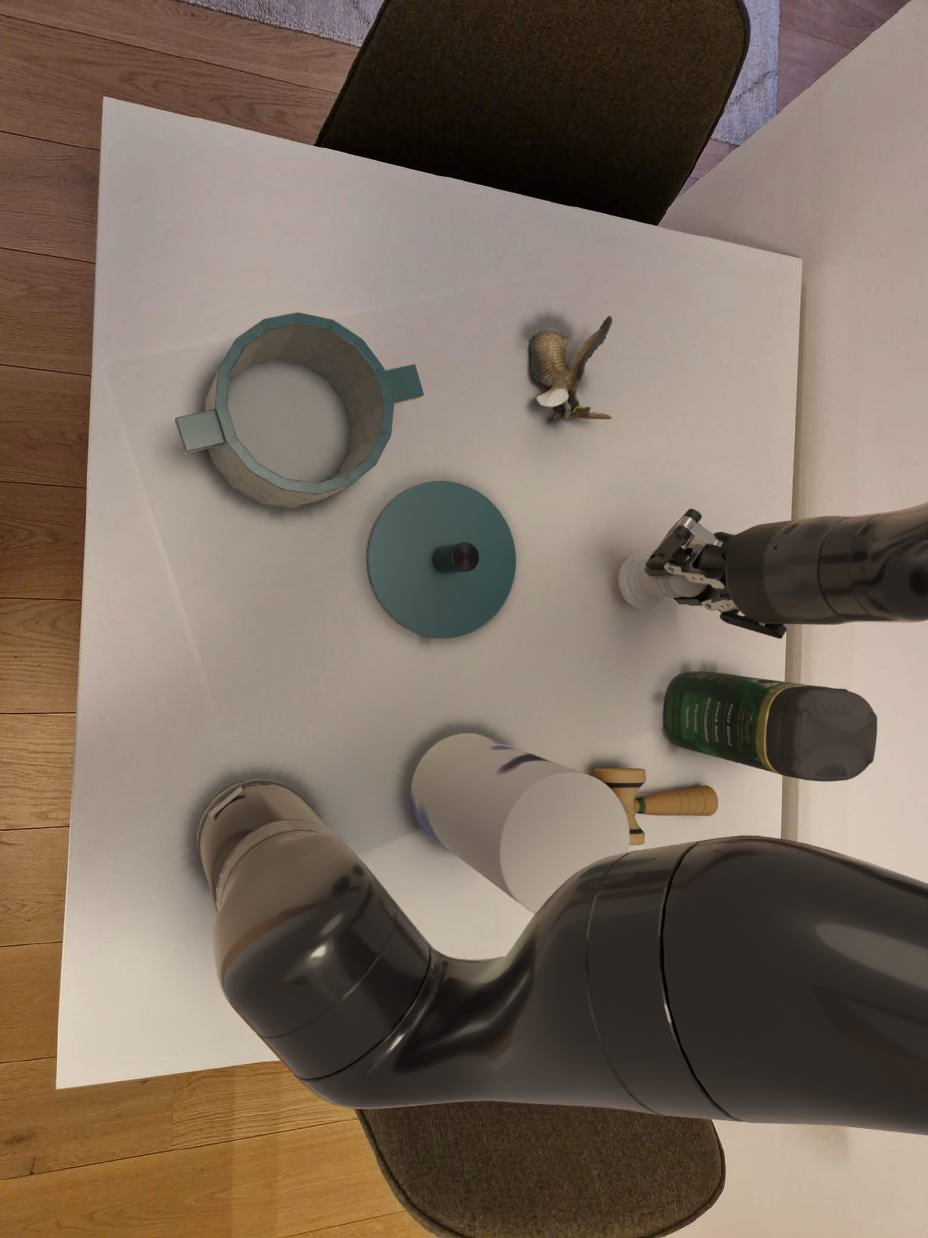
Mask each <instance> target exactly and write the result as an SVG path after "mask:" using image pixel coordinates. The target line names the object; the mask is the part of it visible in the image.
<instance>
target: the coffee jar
mask: <svg viewBox="0 0 928 1238" xmlns="http://www.w3.org/2000/svg"><path fill="white" fill-rule="evenodd" d="M666 691H667V692H666V696H665V699H664V706H663V707H664V708H663V724H664V730H665V733H666V736H667V738H668V739H669V741H671V743H672V744H673V745H675V746H676V747H679V748H681V749H685V750H688V751H692V752H696V753H699V754H703V755H707V756H711V757H714V758H715V757H716V758H718V759H723V760H726V761H729V762H733V763H737V764H741V765H744V766H746V767H747V766H748V767H750V768H755V769H758V770H763V771H766V772H769V773H774V774H776V775H780V776H783V777H788V778H793V779H799V780H803V781H810V782H822V783H823V782H824V783H825V782H827V783H828V782H842V781H849V780H852V779H854V778H856V777H858V776H859V775H860V774H862V773H863V772H865V770H866V769H867V768H868V767H869V766H870V764H872V763H873V762H874V760H875V753H876V749H877V737H878V716H877V714H876V713H875V710H874V709H873V707H872V706H871V704H870V703H869V702H868V701H867V700H866V698H864V697H863V696H861V695H860V694H858V693H857V692H853V691H850V690H848V689H847V688H835V687H829V686H821V685H812V684H805V683H804V684H803V683H797V682H790V681H783V680H775V679H767V678H759V677H751V676H743V675H737V674H731V673H723V672H715V671H714V672H713V671H692V672H691V671H690V672H685V673H681V674H679V675H678V676H676V677H675V678H674V679H673V680H672V681H671V683H670V685H669V686H668V688H667V690H666Z"/></svg>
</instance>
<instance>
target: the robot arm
mask: <svg viewBox="0 0 928 1238" xmlns="http://www.w3.org/2000/svg"><path fill="white" fill-rule="evenodd" d="M702 518H703V516H702V514H701V513H700V511H698V510H696V509H694V508H688V509H687V510H686V511H685V513H683V515H681V516H680V518H679V519H678V520H677V521H676V522H675V523H674V524H673V526H672V527H671V528H670V529H669V530H668V531H667V533H666V535H665V536H664V538H663V539H662V540H661V542H660V543H659V545H658V546H657V548H656V549H655V550H654V551H652V552H651V553H652V555H651V556H650V558H649V559H648V561H647V562H646V563H645V565H646V567H645V569H644V571H645V572H646V573H647V574H648V575H649V576H650V577H652V576H669V575H673V574H674V575H681V576H685V577H686V578H687V580H688V581H689V582H695V583H702V584H707V586H706V588H705V589H704V590H703V591H702V592H701V593H700V594H698V595H697V596H694V597H684V596H681V597H679V598H672V599H673V600H674V601H675V602H676V604H678V605H687V606H690V607H703V608H704V609H706V610H708V611H709V612H714V611H718V612H719V613H720V614H719V616H718V617H719V618H720V620H721V621H722V622H724V623H726V624H728V625H730V626H735V627H739V628H741V629H745V630H749V631H751V632H755V633H759V634H761V635H765V636H769V637H772V638H775V639H778V640H779V639H780V640H781V639H782V638H783V637H784V635H785V634H786V632H788V630H789V628H790V627H791V625H808V626H809V625H811V626H813V625H814V626H835V625H843V624H844V625H845V624H850V623H888V624H889V623H891V624H893V623H895V624H897V623H899V624H908V623H909V624H912V623H922V622H926V621H928V501H925V502H924V503H920V504H918V505H913V506H910V507H906V508H902V509H898V510H893V511H887V512H886V511H885V512H877V513H869V514H859V515H852V516H851V515H822V516H814V517H807V518H801V519H800V518H799V519H791V520H782V521H774V522H767V523H766V522H765V523H760V524H756V525H753V526H751V527H749V528H746V529H745V530H742V531H741V532H739V533H736V534H733V533H728V532H725V531H716V532H714V533H712V532H711V531H710V530H708V529H706V528H705V527H703V526H702V524H701V520H702ZM687 558H688V560H687V561H686V559H687ZM685 561H686V562H685ZM739 613H741V614H743V615H740V614H739ZM199 820H200V821H199V823H198V827H197V831H196V850H197V855H198V858H199V862H200V864H201V867H202V868H203V871H204V874H205V877H206V881H207V884H208V887H209V891H210V894H211V898H212V900H213V901H212V902H213V903H214V908H215V911H216V913H217V915H216V917H215V920H214V924H213V929H212V946H213V948H212V949H213V955H214V963H215V964H214V965H215V971H216V975H217V980H218V983H219V987H220V989H221V991H222V993H223V995H224V998H225V999H226V1001H227V1002H228V1004H229V1006H230V1007H231V1008H232V1009H233V1010H234V1011H235V1013H236V1014H237V1015H238V1016H239V1017H240V1019H242V1020H243V1022H244V1023H245V1024H246V1025H247V1026H248V1027H249V1028H250V1030H252V1031H253V1033H255V1034H256V1035H257V1036H258V1038H259V1039H260V1040H261V1041H262V1042H263V1043H264V1045H266V1046H267V1047H268V1049H270V1050H271V1052H272V1053H273V1054H274V1055H275V1056H276V1058H278V1060H280V1062H281V1063H282V1064H283V1065H284V1066H285V1067H286V1069H287V1070H289V1072H290V1073H292V1075H293V1076H294V1077H295V1078H296V1080H297V1081H299V1082H300V1084H302V1085H303V1086H304V1087H305V1088H306V1089H308V1091H310V1092H311V1093H313V1094H314V1095H315V1096H316V1097H318V1098H320V1099H321V1100H322V1101H324V1102H327V1103H328V1104H331V1105H334V1106H336V1107H341V1108H345V1109H346V1108H347V1109H353V1110H354V1109H355V1110H378V1109H379V1110H380V1109H392V1108H404V1107H416V1106H427V1105H441V1104H451V1103H467V1102H468V1103H469V1102H499V1103H501V1102H502V1103H515V1104H526V1105H527V1104H529V1105H546V1106H567V1107H587V1108H603V1109H613V1110H619V1111H621V1110H622V1111H629V1112H635V1113H642V1114H649V1115H655V1116H663V1117H677V1118H692V1119H702V1120H715V1121H726V1122H727V1121H728V1122H737V1123H748V1124H765V1125H767V1124H768V1125H769V1124H770V1125H800V1126H802V1125H804V1126H805V1125H806V1126H827V1127H828V1126H829V1127H830V1126H831V1127H846V1128H853V1129H854V1128H855V1129H864V1130H876V1131H884V1132H893V1133H901V1134H902V1133H904V1134H911V1135H920V1136H928V883H927V882H925V881H922V880H920V879H917V878H913V877H910V876H908V875H905V874H902V873H899V872H897V871H893V870H891V869H888V868H886V867H883V866H880V865H877V864H875V863H871V862H869V861H865V860H862V859H859V858H857V857H853V856H850V855H847V854H844V853H841V852H837V851H834V850H831V849H828V848H825V847H821V846H817V845H814V844H809V843H805V842H801V841H796V840H790V839H785V838H777V837H771V836H762V835H749V834H747V835H745V834H743V835H740V834H739V835H730V836H722V837H715V838H708V839H702V840H696V841H690V842H683V843H677V844H669V845H664V846H658V847H651V848H644V849H637V850H631V851H629V852H627V853H622V854H618V855H613V856H609V857H605V858H603V859H600V860H597V861H595V862H593V863H591V864H590V865H588V866H586V867H584V868H583V869H581V870H579V871H578V872H576V873H574V874H573V875H572V876H571V877H569V878H568V879H567V880H566V881H565V882H564V883H563V884H562V885H561V886H560V887H559V888H558V889H557V890H556V891H555V892H554V893H553V894H552V895H551V896H550V897H549V898H548V899H547V900H546V901H545V902H544V904H543V905H542V906H541V907H540V909H539V910H538V911H537V912H536V914H535V913H534V914H533V916H532V917H531V919H530V921H529V922H528V923H527V925H526V926H525V928H523V930H522V932H521V934H520V935H519V936H518V938H517V939H516V941H515V942H514V944H513V945H512V947H511V948H510V950H509V951H508V952H507V953H506V955H503V956H498V957H490V958H482V959H481V958H480V959H477V958H475V959H468V958H467V959H466V958H457V957H452V956H449V955H447V954H445V953H443V952H441V951H439V950H438V949H436V948H435V947H434V946H433V945H432V944H431V943H430V942H429V941H428V940H427V938H426V937H425V936H424V935H423V933H422V932H421V931H420V930H419V928H418V927H417V926H416V925H415V924H414V923H413V921H412V920H411V918H410V917H409V916H408V915H407V914H406V913H405V912H404V910H403V909H402V907H401V906H400V905H399V904H398V903H397V901H395V900H396V899H394V898H393V897H392V895H391V894H390V893H389V891H388V890H387V889H386V888H385V887H384V885H383V884H382V882H381V881H380V880H379V879H378V878H377V877H376V875H375V874H374V873H373V872H372V870H371V869H370V868H369V866H368V865H367V864H366V863H365V862H364V861H363V859H361V858H360V857H359V856H358V854H356V853H355V851H354V850H353V849H352V848H351V847H350V846H349V845H348V844H347V843H346V842H345V841H344V840H343V839H342V838H341V837H339V836H338V835H335V834H334V833H333V831H332V830H330V828H329V827H328V826H327V825H326V824H325V823H324V822H323V821H322V820H321V818H320V817H319V816H318V815H317V814H316V813H315V811H314V810H312V808H311V807H310V805H309V803H308V802H307V801H306V800H305V798H304V797H302V795H301V794H300V793H299V792H298V791H296V790H295V788H292V787H291V786H289V785H287V784H286V783H283V782H280V781H278V780H274V779H268V778H254V779H248V780H244V781H242V780H241V781H238V782H236V783H234V784H231V785H230V786H228V787H226V788H225V789H223V790H222V791H221V792H220V793H218V794H217V796H215V797H214V798H213V799H212V800H211V801H210V803H209V804H208V806H206V809H205V811H204V812H203V814H202V815H201V818H200V819H199Z"/></svg>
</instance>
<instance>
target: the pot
mask: <svg viewBox="0 0 928 1238" xmlns="http://www.w3.org/2000/svg"><path fill="white" fill-rule="evenodd" d="M276 360H278V361H283V362H287V363H292V364H297V365H302V366H305V367H307V368H308V369H310V371H313V372H314V373H316V374H318V375H319V376H321V377H322V378H324V379H326V380H327V382H328V383H329V384H330V386H331V387H332V388H333V389H334V391H335V392H336V393H337V395H338V396H339V397H340V399H341V400H342V402H343V405H344V409H345V412H346V416H347V418H348V421H349V425H350V433H349V434H350V435H349V445H348V446H349V447H348V454H347V455H346V457H345V459H344V461H343V463H342V464H341V467H340V468H339V470H338V472H337V474H336V475H335V476H334V477H332V478H329V479H327V480H323V481H318V482H312V481H305V480H297V479H291V478H285V477H283V476H282V475H280V474H278V473H276V472H274V471H273V470H272V469H269V468H267V467H266V466H264V465H262V464H261V463H259V462H257V460H256V458H254V456H253V455H252V454H251V452H250V451H249V450H248V449H247V447H245V445H244V444H243V442H242V441H241V440H240V438H238V437H237V433H236V430H235V427H234V423H233V420H232V417H231V414H230V412H229V408H228V399H229V387H230V381H231V380H232V379H233V378H234V377H236V376H237V375H239V374H240V373H242V372H243V371H244V370H246V369H247V368H249V367H250V366H253V365H257V364H262V363H268V362H271V361H276ZM424 395H425V392H424V390H423V387H422V383H421V379H420V375H419V372H418V369H417V365H416V363H412V364H408V365H403V366H399V367H395V368H390V369H385V367H384V365H383V364H382V363H381V361H380V360H379V359H378V357H377V356H376V354H375V353H374V352H373V351H372V350H371V348H370V347H369V345H368V344H367V342H366V341H365V340H364V339H363V338H362V337H361V336H359V335H357V334H356V333H354V332H353V331H351V330H350V329H349V328H347V327H345V326H344V325H343V324H341V323H340V322H337V321H336V320H334V319H332V318H327V317H322V316H318V315H313V314H308V313H303V312H299V311H298V312H292V313H286V314H282V315H276V316H272V317H267V318H263V319H261V320H260V321H259V322H257V323H256V324H254V325H253V326H252V327H250V328H249V329H247V330H246V331H245V332H243V333H242V334H239V336H238V337H236V338H235V339H234V341H233V342H232V344H231V346H230V348H229V350H228V351H227V353H226V355H225V357H224V359H223V360H222V362H221V364H220V366H219V367H218V370H217V372H216V374H215V377H214V379H213V381H212V384H211V386H210V388H209V390H208V393H207V395H206V399H205V402H204V411H199V412H195V413H191V414H185V415H183V416H181V415H180V416H177V417H175V418H174V424H175V427H176V430H177V433H178V436H179V439H180V442H181V446H182V448H183V449H182V450H183V452H184V454H185V455H188V454H192V453H195V452H199V451H205V450H208V453H209V456H210V460H211V463H212V464H213V466H214V467H215V468H216V469H217V471H218V472H219V473H220V474H221V475H222V476H223V478H224V480H226V482H227V483H228V484H229V485H230V487H232V488H233V489H234V490H236V491H237V492H239V493H241V494H243V495H244V496H247V497H248V498H250V499H252V500H254V501H255V502H257V503H259V504H261V505H265V506H274V507H282V508H290V509H295V508H298V507H301V506H305V505H308V504H312V503H317V502H321V501H322V500H325V499H327V498H328V497H330V496H332V495H334V494H336V493H338V492H340V491H343V490H344V489H346V488H348V487H350V486H352V485H353V484H354V483H356V482H357V481H358V480H359V479H361V478H362V477H363V476H364V475H365V474H367V473H368V472H369V471H371V470H372V469H373V468H375V466H376V465H377V464H378V462H379V460H380V458H381V456H382V454H383V452H384V450H385V449H386V446H387V444H388V443H389V441H390V439H391V437H392V433H393V432H392V430H393V423H394V422H393V419H394V410H395V409H394V408H395V405H396V404H400V403H404V402H409V401H413V400H417V399H420V398H423V396H424Z"/></svg>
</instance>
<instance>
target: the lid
mask: <svg viewBox="0 0 928 1238" xmlns="http://www.w3.org/2000/svg"><path fill="white" fill-rule="evenodd" d="M367 543H368V544H367V549H366V565H367V567H366V568H367V574H368V578H369V582H370V585H371V588H372V591H373V593H374V595H375V597H376V599H377V601H378V603H379V604H380V606H381V607H382V608H383V609H384V611H385V612H386V613H387V614H388V615H389V616H390V617H391V618H392V620H394V621H395V622H396V623H397V624H398V625H400V626H402V627H404V628H405V629H407V630H408V631H411V632H413V633H415V634H418V635H421V636H424V637H428V638H435V639H451V638H458V637H461V636H465V635H468V634H470V633H472V632H475V631H476V630H478V629H481V628H482V627H483V626H485V625H486V624H487V623H488V622H490V621H492V619H493V618H494V617H495V616H496V615H497V614H498V613H499V611H500V610H501V609H502V607H503V606H504V605H505V602H506V601H507V599H508V597H509V595H510V592H511V590H512V588H513V584H514V580H515V577H516V569H517V554H516V553H517V552H516V548H515V547H516V546H515V541H514V537H513V534H512V532H511V529H510V527H509V524H508V522H507V521H506V519H505V517H504V515H503V514H502V512H501V511H500V509H498V508H497V506H496V505H495V504H494V503H493V502H492V501H491V500H490V499H489V498H488V497H487V496H486V495H484V494H482V493H481V492H480V491H479V490H476V489H474V488H473V487H470V486H467V485H465V484H462V483H460V482H459V483H458V482H454V481H446V480H435V481H427V482H423V483H419V484H416V485H414V486H412V487H409V488H408V489H407V488H406V490H404V491H402V492H400V493H399V494H397V495H396V496H395V497H393V499H391V501H389V503H387V504H386V506H385V507H384V508H383V509H382V511H381V512H380V513H379V515H378V517H377V518H376V520H375V521H374V525H373V527H372V528H371V532H370V535H369V537H368V542H367Z"/></svg>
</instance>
